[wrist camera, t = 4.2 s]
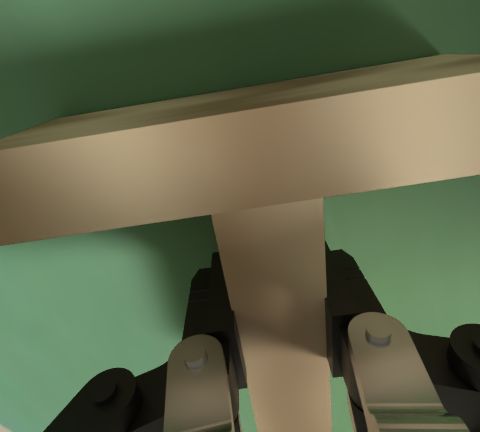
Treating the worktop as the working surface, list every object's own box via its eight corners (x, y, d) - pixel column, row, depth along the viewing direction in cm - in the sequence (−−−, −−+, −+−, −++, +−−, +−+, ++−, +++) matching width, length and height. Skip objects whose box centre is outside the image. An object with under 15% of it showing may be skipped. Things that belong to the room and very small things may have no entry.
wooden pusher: (443, 54, 10) (592, 54, 6) (409, 339, 15) (473, 441, 11) (56, 118, 10) (-55, 158, 6) (157, 371, 15) (132, 479, 12)
